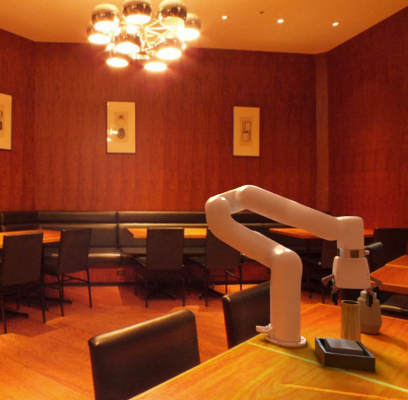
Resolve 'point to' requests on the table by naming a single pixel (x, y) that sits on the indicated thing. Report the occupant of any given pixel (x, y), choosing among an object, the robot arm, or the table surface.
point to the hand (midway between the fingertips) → (351, 305)
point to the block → (342, 346)
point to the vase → (350, 320)
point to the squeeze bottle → (370, 314)
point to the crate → (345, 358)
